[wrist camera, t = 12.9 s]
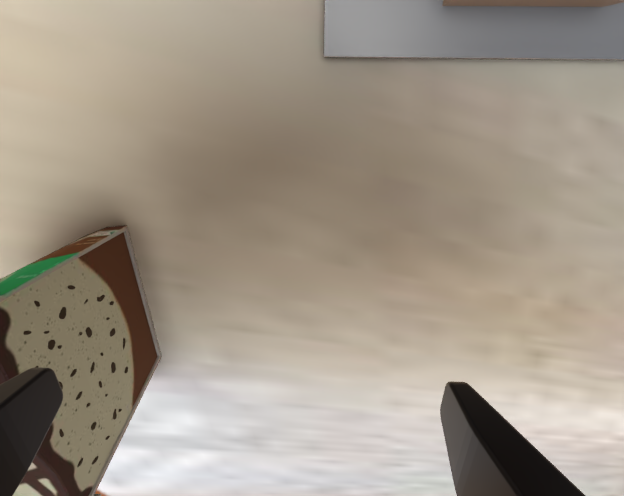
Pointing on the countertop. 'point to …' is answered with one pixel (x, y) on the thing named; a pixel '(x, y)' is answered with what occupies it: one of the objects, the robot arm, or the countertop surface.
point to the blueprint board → (475, 29)
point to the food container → (80, 353)
